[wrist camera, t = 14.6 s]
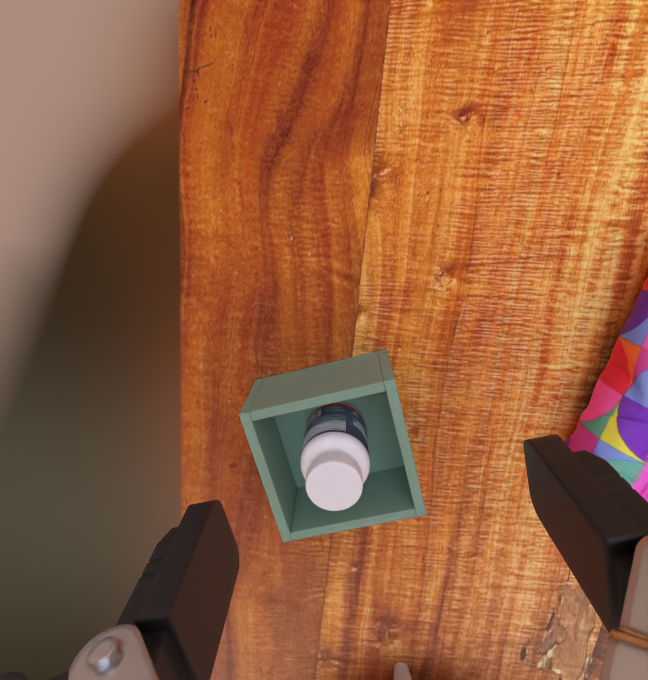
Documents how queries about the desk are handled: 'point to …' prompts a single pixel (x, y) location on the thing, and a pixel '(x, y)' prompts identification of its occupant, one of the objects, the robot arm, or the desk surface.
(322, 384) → the bin
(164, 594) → the robot arm
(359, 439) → the pill bottle
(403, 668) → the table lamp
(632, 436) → the pencil case
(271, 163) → the desk surface
